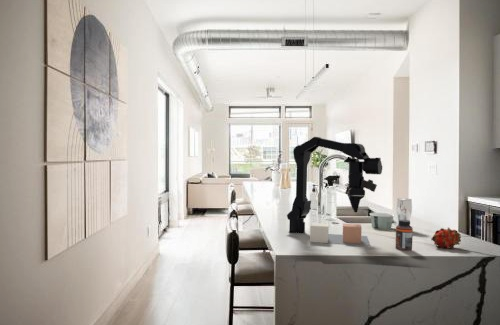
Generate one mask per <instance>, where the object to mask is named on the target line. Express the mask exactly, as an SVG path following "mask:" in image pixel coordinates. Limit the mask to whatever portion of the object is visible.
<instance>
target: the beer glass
mask: <svg viewBox="0 0 500 325" xmlns="http://www.w3.org/2000/svg"><path fill="white" fill-rule="evenodd" d="M412 212H413V201H412V198H404V197H403V198H400V197H399V198H397V200H396V215H397V226H398V225H399V220H409V221H410V222H411V217H412Z"/></svg>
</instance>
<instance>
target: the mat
mask: <svg viewBox="0 0 500 325" xmlns="http://www.w3.org/2000/svg"><path fill="white" fill-rule="evenodd" d="M308 243H310V244H311V243H312V244H328V245H342V246H343V245H344V246H357V247H358V246H359V247H371V243H370V240H369V238H368V236H367V235H361V243H347V242H343V234H334V233H329V235H328V243H322V242H310V239H309V240H308Z"/></svg>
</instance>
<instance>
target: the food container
mask: <svg viewBox="0 0 500 325" xmlns="http://www.w3.org/2000/svg"><path fill="white" fill-rule="evenodd" d="M369 216H370V221H371V222H370V223H371V227H372V228H374V229H379V230H390V229H392V226H393V225H392V224H393V220H394V217H395V215H394V214H392V213H388V212H387V213H386V212H370V213H369Z"/></svg>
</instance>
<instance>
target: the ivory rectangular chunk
mask: <svg viewBox="0 0 500 325" xmlns="http://www.w3.org/2000/svg"><path fill="white" fill-rule="evenodd" d="M309 226H310V227H309V228H310V229H309V230H310V231H309V240H310V242H322V243H321V244H324V243H328V235H329V234H330V232H329V230H330V228H329V226H330V225H329V223H321V222H320V223H319V222H311V223H310V225H309Z"/></svg>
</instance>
